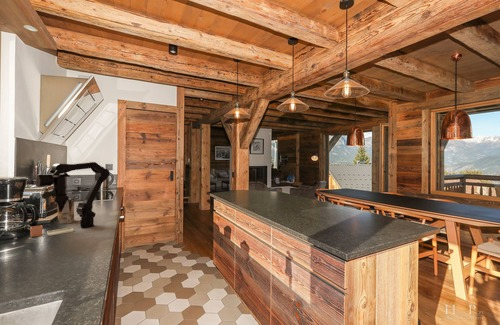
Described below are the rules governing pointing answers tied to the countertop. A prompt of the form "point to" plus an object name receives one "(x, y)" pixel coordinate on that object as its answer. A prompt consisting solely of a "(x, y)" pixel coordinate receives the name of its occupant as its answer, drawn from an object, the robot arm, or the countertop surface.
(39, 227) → the orange open box
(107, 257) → the countertop surface
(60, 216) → the pin
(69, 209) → the coffee box
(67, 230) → the tray
